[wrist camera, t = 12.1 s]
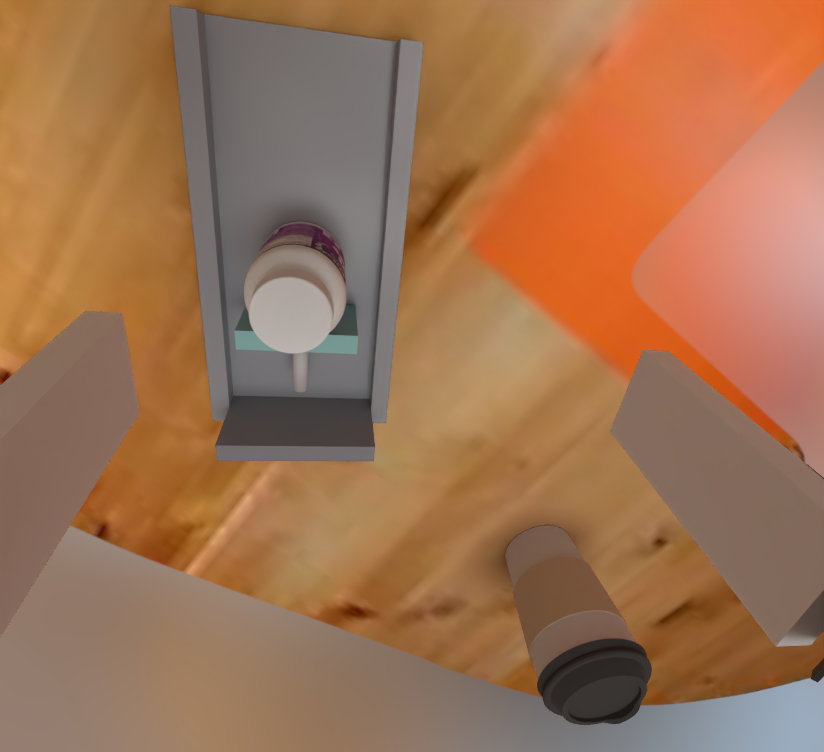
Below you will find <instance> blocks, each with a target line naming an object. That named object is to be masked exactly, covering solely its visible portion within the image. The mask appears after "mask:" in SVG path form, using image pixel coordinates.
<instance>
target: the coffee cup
mask: <svg viewBox="0 0 824 752" xmlns="http://www.w3.org/2000/svg"><path fill="white" fill-rule="evenodd" d="M505 559H506V563H507V566H508V570H509V574H510V578H511V581H512V585H513V589H514V591H513V595H514V599H515V603H516V607H517V611H518V614H519V618H520V622H521V626H522V630H523V633H524V637H525V641H526V645H527V649H528V652H529V656H530V659H531V661H532V663H533V664H534V667H535V671H536V674H537V678H538V682H537V688H538V691H539V693H540V695H541V696H542V697H543V701H544V704H545V706H546V707H547V708H548V709H549V710H550V711H552V712H554V713H555V714H558V715H561V716H563V717H564V718H565V719H566V720H567V721H569V722H571V723H574V724H580V725H591V724H598V723H603V722H604V723H610V724H619V723H622V722H624V721H626V720H628V719H630V718H631V717H633V716H634V715H635V714H636V713H637V712H638V710H639V708H640V705H641V701H642V700H643V698H644V697H645V695H646V692H647V685H646V684H647V683H648V681H649V679H650V676H651V671H652V668H651V664H650V662H649V660H648V659H647V654H646V652H645V650H644V649H643V647H642V646H640V645H639V644H637V643H636V641H635V639H634V638H633V636H632V635H631V633H630V631H629V630H628V627H627V624H626V622H625V620H624V619H623V617H622V616H621V614H620V613H619V611H618V609H617V608H616V606H615V605H614V603H613V602H612V600H611V598H610V597H609V595H608V594H607V592H606V591H605V589H604V587H603V586H602V584H601V583H600V581H599V580H598V578H597V576H596V575H595V573H594V572H593V570H592V569H591V567H590V566H589V564H588V563H586V562H585V560H584V559H583V557H582V556H581V554H580V552H579V551H578V549H577V548H576V546H575V545H574V543H573V541H572V540H571V538H570V537H569V535H568V534H567V532H566V531H565V530H563V529H561V528H559V527H556V526H549V525H545V526H538V527H534V528H531V529H528V530H526V531H524V532H522V533H521V534H519V535H518V536H517V537H515V538H514V539H513V540H512V541H511V543H510V544H509V545H508V547H507V549H506V553H505Z"/></svg>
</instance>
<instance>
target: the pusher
mask: <svg viewBox="0 0 824 752" xmlns="http://www.w3.org/2000/svg"><path fill="white" fill-rule="evenodd" d="M235 344H236V349H238V350H263V351H277V350H274V349H272V348H270V347H269V346H267V345H266V344H264V343H263V342H262V341H261V340H260V339H259V338H258V337H257V335H256V334H255V333H254V331H253V329H252V327H251V324H250V321H249V313H248V310H247V308H246V306H245V309H244V311H243V313H242V315H241V317H240V320H239V322H238V324H237V326H236V328H235ZM357 345H358V329H357V316H356V305H346V306H345V310H344V313H343V315H342V317H341V319H340V321H339V323H338V324H337V325H336V327H335V328H334V329H333V330H332V331H331V332H330V333H329V334H328V336H327V337H326V339H325V340H324V341H323V342H322V343H321V344H320V345H318V346H317V347H316V348H314V349H312V350H310V351H307V352H303V353H295V354H294V353H293V390H294V391H296V392H305V391H307V390H308V352H315V353H340V354H357Z"/></svg>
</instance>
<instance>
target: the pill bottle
mask: <svg viewBox="0 0 824 752" xmlns="http://www.w3.org/2000/svg"><path fill="white" fill-rule="evenodd" d="M244 300H245V304H246V308H247V310H248V313H249V321H250V324H251V327H252V329H253V331H254V333H255V334H256V335H257V337H258V338H259V339H260V340H261V341H262V342H263V343H264V344H266V345H267V346H269V347H270V348H272V349H274V350H277V351H280V352H284V353H294V354H295V353H303V352H307V351H310V350H312V349H314V348H316V347H317V346H318V345H320V344H321V343H322V342H323V341H324V340H325V339H326V337H327V336H328V334H329V333H330V332H331V331H332V330H333V329H334V328H335V327H336V325H337V324H338V323H339V321H340V319H341V317H342V315H343V313H344V310H345V306H346V273H345V259H344V255H343V251H342V249H341V247H340V245H339V243H338V241H337V240H336V239H335V237H334V236H333V235H332V234H331V233H330V232H328V231H327V230H325V229H324V228H322V227H320V226H318V225H316V224H313V223H309V222H303V221H298V222H291V223H287V224H284V225H282V226H280V227H279V228H277V229H276V230H274V231H273V232H272V233H271V234H270V235H269V237H268V238H267V240H266V241H265V243H264V244H263V246H262V248H261V249H260V251H259V253H258V255H257V256H256V258H255V260H254V262H253V264H252V265H251V267H250V268H249V271H248V273H247V276H246V279H245V284H244Z"/></svg>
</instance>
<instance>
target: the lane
mask: <svg viewBox="0 0 824 752" xmlns="http://www.w3.org/2000/svg"><path fill="white" fill-rule="evenodd" d="M170 12H171V22H172V31H173V41H174V51H175V60H176V70H177V80H178V89H179V99H180V109H181V118H182V128H183V137H184V147H185V157H186V166H187V176H188V186H189V195H190V205H191V214H192V224H193V234H194V243H195V253H196V263H197V272H198V282H199V292H200V301H201V311H202V320H203V330H204V340H205V349H206V359H207V369H208V378H209V388H210V398H211V407H212V417H213V420H214V421H224V423H223V426H222V428H221V431H220V434H219V437H218V440H217V442H216V445H215V447H216V457H217V461H374V452H375V443H374V433H373V423H386V418H387V408H388V398H389V388H390V378H391V368H392V358H393V348H394V337H395V327H396V317H397V307H398V297H399V287H400V277H401V267H402V256H403V246H404V236H405V226H406V216H407V206H408V196H409V186H410V175H411V165H412V155H413V145H414V135H415V125H416V115H417V105H418V94H419V84H420V74H421V64H422V54H423V44H424V42H418V41H411V40H404V39H400V40H399V41H398V42H395V41H388V40H381V39H374V38H367V37H360V36H353V35H347V34H340V33H333V32H326V31H319V30H312V29H305V28H298V27H291V26H284V25H277V24H270V23H263V22H256V21H249V20H242V19H235V18H228V17H221V16H215V15H208V14H203V13H201V12H200V11H198V10H197V9H191V8H184V7H177V6H170ZM298 221H303V222H309V223H313V224H316V225H318V226H320V227H322V228H324V229H325V230H327V231H328V232H330V233H331V234H332V235H333V236H334V237H335V239H336V240H337V241H338V243H339V245H340V247H341V249H342V251H343V255H344V259H345V273H346V305H356V316H357V329H358V345H357V354H340V353H315V352H308V390H307V391H305V392H296V391H294V390H293V353H284V352H280V351H263V350H238V349H236V344H235V328H236V326H237V324H238V322H239V320H240V317H241V315H242V313H243V311H244V309H245V306H246V304H245V300H244V284H245V279H246V276H247V273H248V271H249V268H250V267H251V265H252V264H253V262H254V260H255V258H256V256H257V255H258V253H259V251H260V249H261V248H262V246H263V244H264V243H265V241H266V240H267V238H268V237H269V235H270V234H271V233H272V232H273V231H274V230H276V229H277V228H279V227H280V226H282V225H284V224H287V223H291V222H298Z"/></svg>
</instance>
